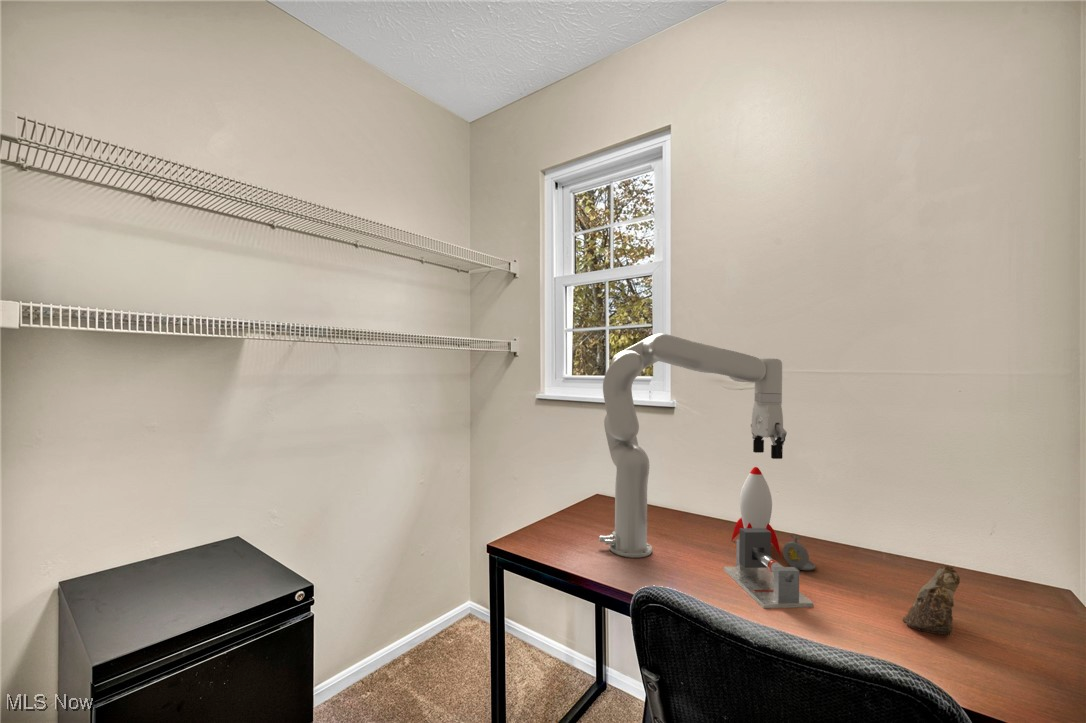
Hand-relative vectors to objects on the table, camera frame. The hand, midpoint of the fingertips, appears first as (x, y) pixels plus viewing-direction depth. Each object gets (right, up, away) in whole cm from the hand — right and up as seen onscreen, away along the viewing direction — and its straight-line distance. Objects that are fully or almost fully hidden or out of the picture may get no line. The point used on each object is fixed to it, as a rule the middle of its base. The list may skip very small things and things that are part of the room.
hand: (767, 455), depth 142 cm
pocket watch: (+3, -29, -12) cm, 32 cm away
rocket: (-3, -29, +2) cm, 29 cm away
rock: (+15, -29, -41) cm, 53 cm away
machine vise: (-12, -29, -24) cm, 39 cm away
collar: (-12, -25, -19) cm, 34 cm away
